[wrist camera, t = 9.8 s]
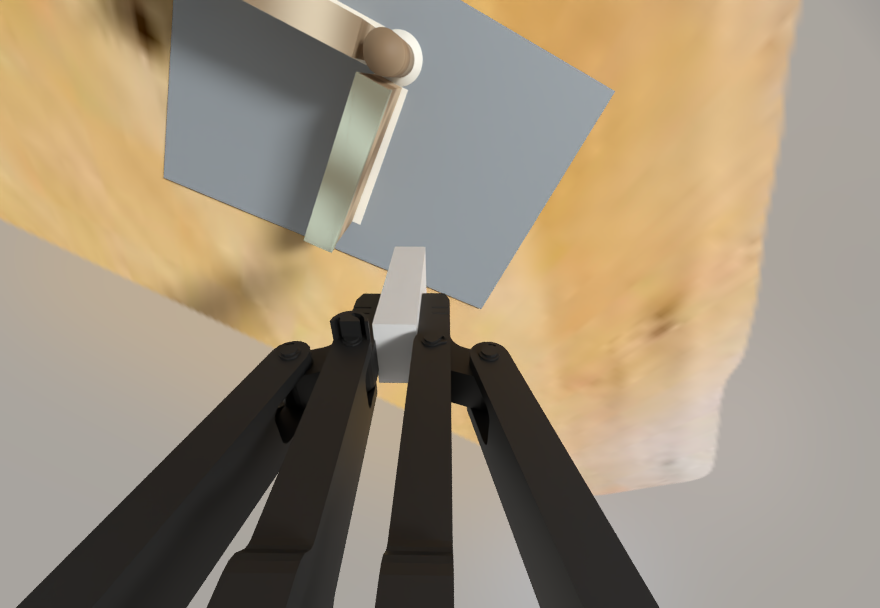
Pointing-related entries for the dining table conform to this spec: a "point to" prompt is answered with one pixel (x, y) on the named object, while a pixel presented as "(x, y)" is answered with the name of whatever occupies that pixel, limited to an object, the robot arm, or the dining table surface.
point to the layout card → (405, 141)
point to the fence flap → (352, 157)
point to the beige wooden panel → (345, 33)
